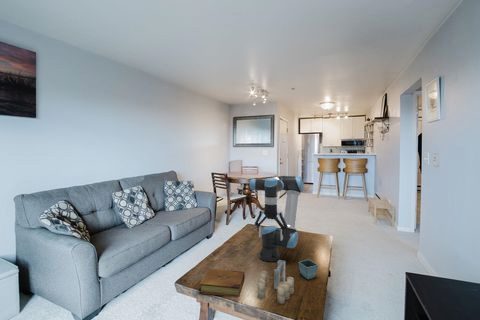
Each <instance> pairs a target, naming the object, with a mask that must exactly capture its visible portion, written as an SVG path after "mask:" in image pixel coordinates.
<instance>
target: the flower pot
mask: <svg viewBox="0 0 480 320" xmlns="http://www.w3.org/2000/svg"><path fill="white" fill-rule="evenodd" d="M298 268H299V272H300V274H301V275H302V276H303V278H305V279H307V280H311V279H314V278H315V277H316V275H317V274H318V268H319V265H318V264H317V263H315V262H314V261H312V260H311V259H304V260H301V261H298Z"/></svg>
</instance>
